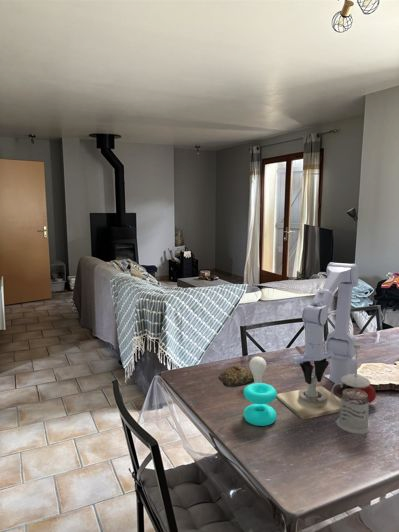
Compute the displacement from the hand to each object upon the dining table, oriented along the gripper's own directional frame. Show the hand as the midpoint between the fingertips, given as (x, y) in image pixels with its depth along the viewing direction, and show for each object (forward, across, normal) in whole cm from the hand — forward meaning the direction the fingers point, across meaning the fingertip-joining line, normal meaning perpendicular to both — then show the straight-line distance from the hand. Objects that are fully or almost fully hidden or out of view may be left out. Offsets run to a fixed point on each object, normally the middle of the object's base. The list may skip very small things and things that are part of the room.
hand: (313, 381), depth 133 cm
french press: (+8, -3, +15) cm, 17 cm away
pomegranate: (+8, -16, +7) cm, 19 cm away
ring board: (+7, 0, 0) cm, 7 cm away
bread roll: (+8, +15, -27) cm, 32 cm away
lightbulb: (+8, +11, -18) cm, 22 cm away
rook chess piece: (+6, 0, -1) cm, 6 cm away
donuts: (+8, +21, +3) cm, 22 cm away
